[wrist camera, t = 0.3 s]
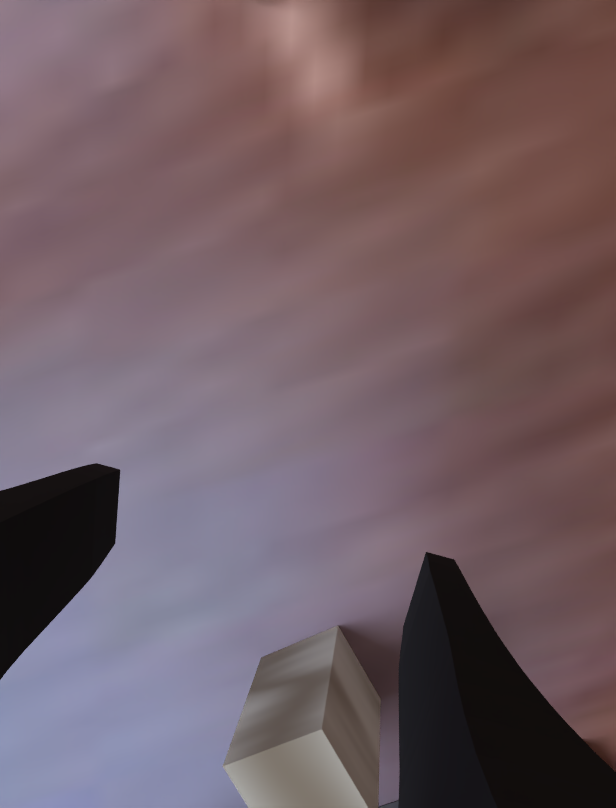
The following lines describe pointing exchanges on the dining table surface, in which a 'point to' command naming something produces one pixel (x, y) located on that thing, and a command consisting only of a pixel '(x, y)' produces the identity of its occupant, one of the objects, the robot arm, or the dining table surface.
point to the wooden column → (308, 730)
